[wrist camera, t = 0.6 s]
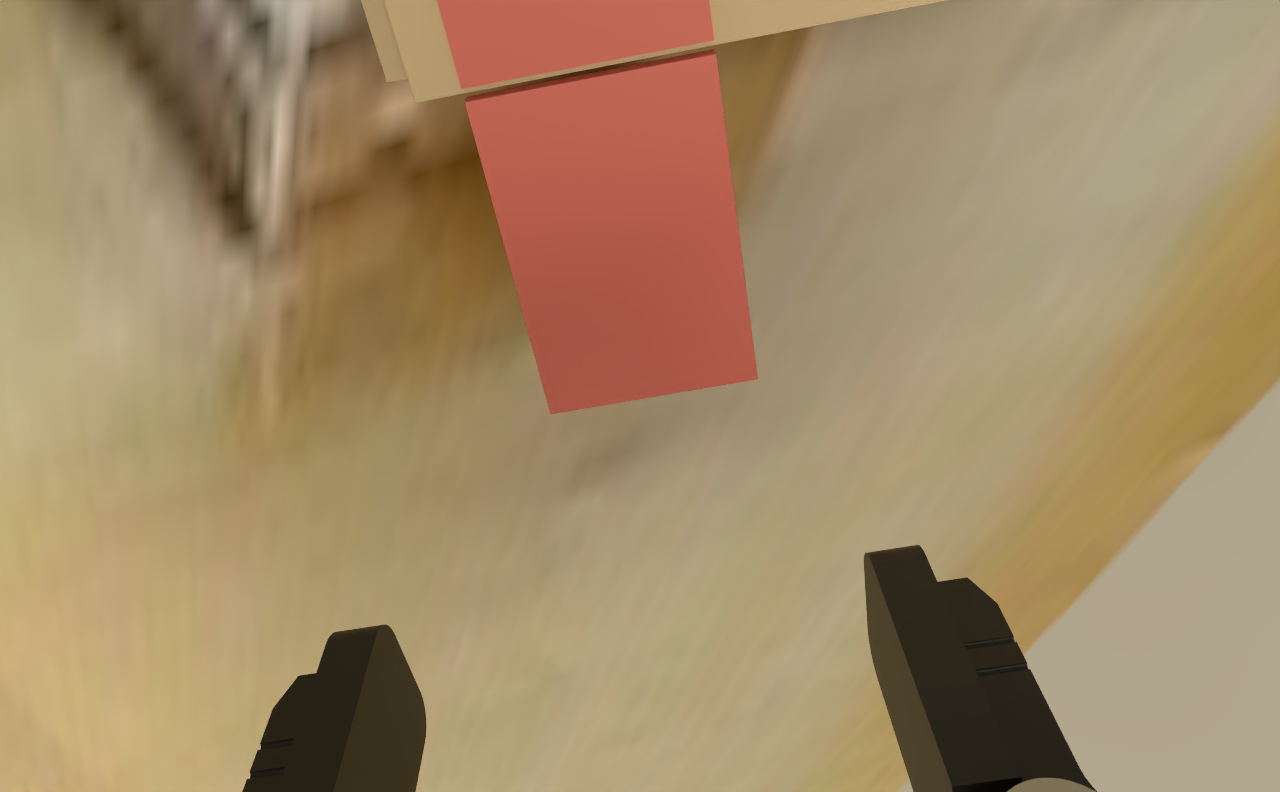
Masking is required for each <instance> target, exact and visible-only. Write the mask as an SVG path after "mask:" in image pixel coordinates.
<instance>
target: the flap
mask: <svg viewBox="0 0 1280 792" xmlns="http://www.w3.org/2000/svg"><path fill="white" fill-rule="evenodd" d="M384 1H385V5H386V8H387V11H388V14H389V18H390V21H391V24H392V28H393V31H394V34H395V37H396V41H397V44H398V47H399V51H400V54H401V57H402V60H403V64H404V67H405V70H406V74H407V77H408V80H409V83H410V87H411V90H412V93H413V97H414V100H415V103H416V102H422V101H427V100H432V99H437V98H442V97H448V96H453V95H458V94H463V93H468V92H474V91H479V90H484V89H489V88H494V87H499V86H505V85H510V84H515V83H520V82H525V81H531V80H536V79H541V78H546V77H551V76H557V75H562V74H567V73H572V72H577V71H583V70H588V69H593V68H598V67H603V66H608V65H614V64H619V63H624V62H629V61H634V60H640V59H645V58H650V57H655V56H660V55H666V54H671V53H676V52H681V51H686V50H691V49H697V48H702V47H707V46H712V45H717V44H723V43H728V42H733V41H738V40H743V39H749V38H754V37H759V36H764V35H769V34H774V33H780V32H785V31H790V30H795V29H800V28H806V27H811V26H816V25H821V24H826V23H832V22H837V21H842V20H847V19H852V18H857V17H863V16H868V15H873V14H878V13H883V12H889V11H894V10H899V9H904V8H909V7H915V6H920V5H925V4H930V3H935V2H941V1H946V0H384ZM465 105H466V109H467V112H468V116H469V120H470V123H471V127H472V130H473V134H474V138H475V141H476V145H477V149H478V152H479V156H480V159H481V163H482V167H483V170H484V174H485V178H486V181H487V185H488V188H489V192H490V196H491V199H492V203H493V207H494V210H495V214H496V217H497V221H498V225H499V228H500V232H501V236H502V239H503V243H504V246H505V250H506V254H507V257H508V261H509V265H510V268H511V272H512V275H513V279H514V283H515V286H516V290H517V294H518V297H519V301H520V304H521V308H522V312H523V315H524V319H525V323H526V326H527V330H528V333H529V337H530V341H531V344H532V348H533V352H534V355H535V359H536V362H537V366H538V370H539V373H540V377H541V381H542V384H543V388H544V391H545V395H546V399H547V402H548V406H549V410H550V413H551V414H555V413H560V412H566V411H572V410H578V409H584V408H590V407H596V406H602V405H608V404H614V403H619V402H625V401H631V400H637V399H643V398H649V397H655V396H661V395H667V394H673V393H679V392H684V391H690V390H696V389H702V388H708V387H714V386H720V385H726V384H732V383H738V382H743V381H749V380H755V379H758V378H757V370H756V362H755V354H754V347H753V339H752V331H751V323H750V315H749V307H748V300H747V292H746V284H745V276H744V268H743V260H742V253H741V245H740V237H739V229H738V221H737V214H736V206H735V198H734V190H733V182H732V174H731V167H730V159H729V151H728V143H727V135H726V127H725V120H724V112H723V104H722V96H721V88H720V80H719V73H718V65H717V57H716V53H715V51H714V49H713V50H708V51H703V52H698V53H692V54H687V55H682V56H677V57H672V58H666V59H661V60H656V61H651V62H646V63H640V64H635V65H630V66H625V67H620V68H614V69H609V70H604V71H599V72H594V73H588V74H583V75H578V76H573V77H568V78H563V79H557V80H552V81H547V82H542V83H537V84H531V85H526V86H521V87H516V88H511V89H505V90H500V91H495V92H490V93H485V94H479V95H474V96H469V97H467V99H466V101H465Z"/></svg>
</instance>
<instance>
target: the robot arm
mask: <svg viewBox="0 0 1280 792" xmlns="http://www.w3.org/2000/svg"><path fill="white" fill-rule="evenodd" d="M864 572H865V590H866V607H867V624H868V636H869V643H870V649H871V654H872V659H873V663H874V667H875V671H876V675H877V678H878V681H879V684H880V687H881V691H882V694H883V697H884V700H885V703H886V706H887V709H888V713H889V716H890V719H891V722H892V725H893V728H894V731H895V735H896V738H897V741H898V744H899V747H900V750H901V753H902V757H903V760H904V763H905V766H906V769H907V772H908V775H909V779H910V782H911V785H912V788H913V791H914V792H1097V791H1096V790H1095V789H1094V788H1093V787H1092V785H1091V784H1090V783H1089V782H1088V780H1087V779H1086V778H1085V776H1084V775H1083V773H1082V772H1081V770H1080V768H1079V766H1078V764H1077V762H1076V760H1075V758H1074V756H1073V754H1072V752H1071V750H1070V748H1069V746H1068V744H1067V742H1066V740H1065V738H1064V736H1063V734H1062V732H1061V730H1060V728H1059V726H1058V724H1057V722H1056V720H1055V718H1054V716H1053V714H1052V712H1051V710H1050V708H1049V706H1048V704H1047V702H1046V700H1045V698H1044V696H1043V694H1042V692H1041V690H1040V688H1039V686H1038V684H1037V682H1036V680H1035V678H1034V676H1033V674H1032V672H1031V670H1030V669H1028V667H1027V662H1026V660H1025V658H1024V656H1023V654H1022V652H1021V650H1020V648H1019V646H1018V644H1017V642H1015V641H1014V637H1013V634H1012V632H1011V630H1010V628H1009V626H1008V624H1007V622H1006V620H1005V618H1004V616H1003V614H1002V612H1001V610H1000V608H999V606H998V604H997V603H996V602H995V601H994V600H993V599H992V598H990V597H989V596H988V595H987V594H986V593H985V592H983V591H982V590H981V589H980V588H979V587H978V586H977V585H975V584H974V583H973V582H972V581H971V580H970V579H968V578H961V579H954V580H948V581H941V582H937V580H936V578H935V576H934V573H933V571H932V569H931V566H930V564H929V562H928V560H927V557H926V555H925V553H924V551H923V549H922V548H921V547H920V546H919V545H915V546H908V547H902V548H895V549H888V550H882V551H875V552H869V553H865V555H864ZM425 737H426V714H425V707H424V702H423V698H422V695H421V692H420V690H419V688H418V686H417V683H416V681H415V679H414V677H413V674H412V672H411V670H410V668H409V665H408V663H407V661H406V659H405V657H404V654H403V652H402V650H401V648H400V645H399V643H398V641H397V639H396V636H395V634H394V632H393V630H392V629H391V628H390V627H389V626H388V625H379V626H372V627H366V628H359V629H353V630H346V631H340V632H334V633H333V634H332V635H331V636H330V637H329V639H328V641H327V643H326V646H325V649H324V652H323V655H322V658H321V661H320V664H319V667H318V670H317V673H315V674H308V675H301V676H298V677H297V679H296V680H295V681H294V682H293V684H292V685H291V686H290V688H289V689H288V690H287V691H286V693H285V694H284V695H283V696H282V698H281V699H280V700H279V702H278V703H277V704H276V705H275V707H274V708H273V710H272V713H271V716H270V718H269V721H268V724H267V726H266V729H265V732H264V735H263V737H262V740H261V743H260V744H261V750H258V751H257V754H256V756H255V759H254V762H253V765H252V767H251V770H250V774H251V776H250V779H247V781H246V784H245V786H244V789H243V792H415V791H416V786H417V781H418V775H419V770H420V765H421V760H422V754H423V749H424V744H425Z"/></svg>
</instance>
